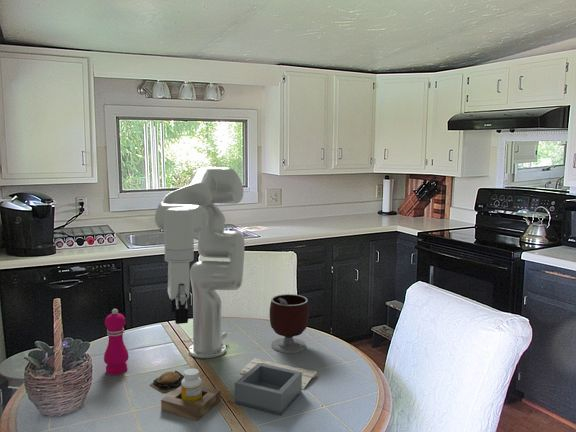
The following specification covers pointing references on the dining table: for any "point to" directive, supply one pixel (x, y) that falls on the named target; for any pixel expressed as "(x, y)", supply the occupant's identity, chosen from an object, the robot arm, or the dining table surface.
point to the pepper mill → (115, 344)
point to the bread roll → (168, 381)
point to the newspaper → (305, 372)
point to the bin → (268, 388)
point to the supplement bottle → (191, 386)
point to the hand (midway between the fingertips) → (179, 317)
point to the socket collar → (191, 403)
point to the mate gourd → (289, 321)
